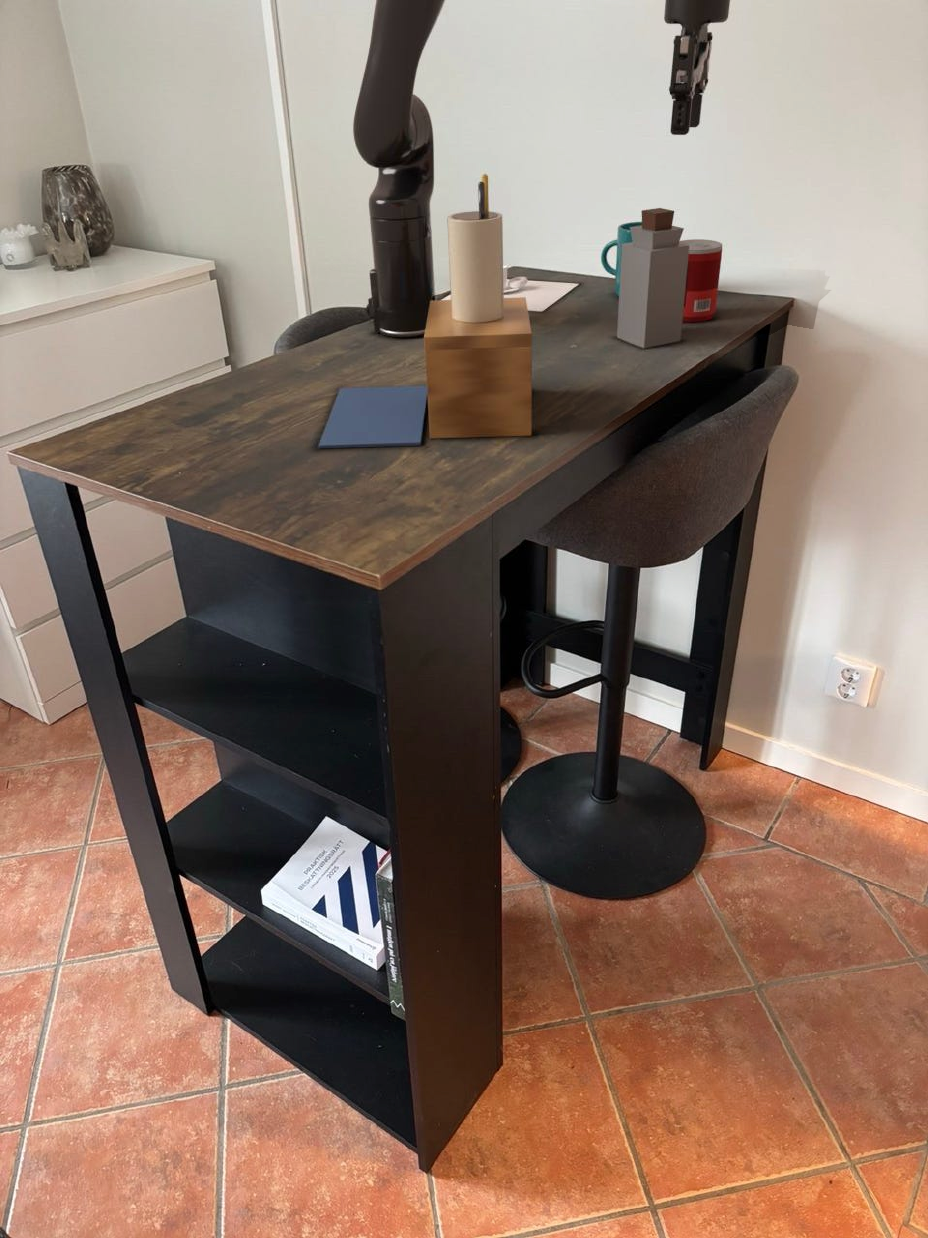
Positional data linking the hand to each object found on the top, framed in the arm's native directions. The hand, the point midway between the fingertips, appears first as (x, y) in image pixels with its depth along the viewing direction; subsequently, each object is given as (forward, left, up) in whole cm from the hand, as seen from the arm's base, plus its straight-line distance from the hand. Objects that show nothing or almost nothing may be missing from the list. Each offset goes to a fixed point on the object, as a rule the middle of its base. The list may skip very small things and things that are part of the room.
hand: (685, 130), depth 116 cm
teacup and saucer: (-34, +29, -29) cm, 53 cm away
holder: (-18, -29, -17) cm, 38 cm away
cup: (-12, +33, -29) cm, 45 cm away
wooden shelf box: (-18, -29, -29) cm, 45 cm away
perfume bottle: (-4, +7, -29) cm, 30 cm away
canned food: (0, +21, -29) cm, 35 cm away
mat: (-30, -34, -29) cm, 54 cm away
